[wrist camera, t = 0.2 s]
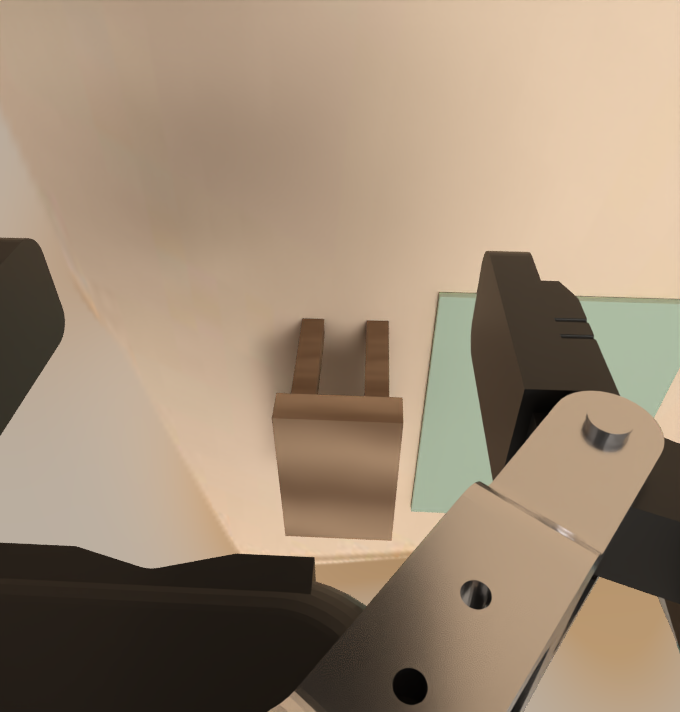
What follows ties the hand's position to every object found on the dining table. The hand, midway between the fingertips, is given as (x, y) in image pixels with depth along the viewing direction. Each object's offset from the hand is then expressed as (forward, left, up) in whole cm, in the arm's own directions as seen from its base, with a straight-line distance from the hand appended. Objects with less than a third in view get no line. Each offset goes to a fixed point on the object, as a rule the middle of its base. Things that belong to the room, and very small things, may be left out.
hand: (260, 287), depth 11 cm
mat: (+23, +13, -18) cm, 32 cm away
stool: (+19, +1, -18) cm, 26 cm away
